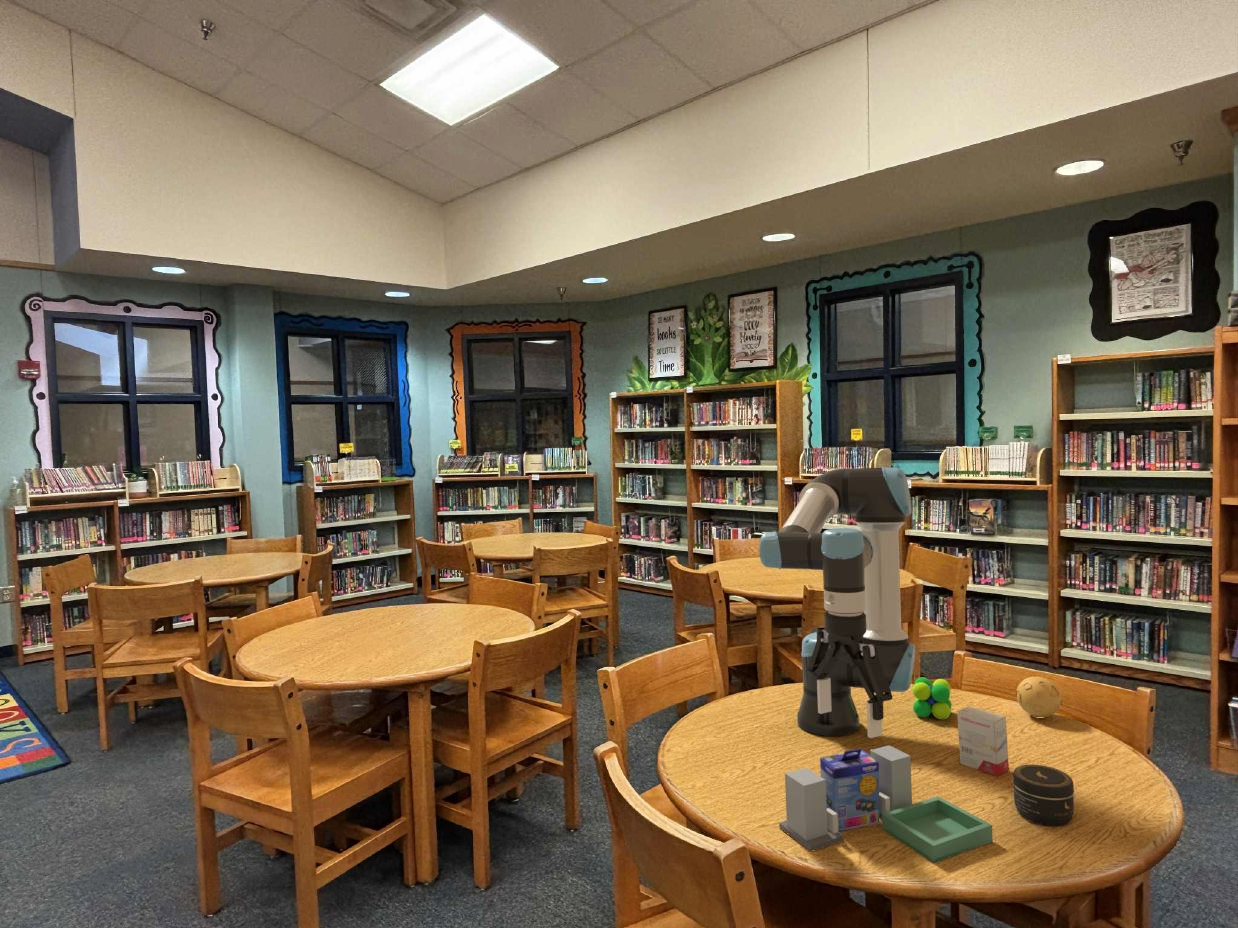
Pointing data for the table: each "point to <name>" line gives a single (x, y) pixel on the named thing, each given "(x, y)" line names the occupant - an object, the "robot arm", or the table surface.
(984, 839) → the tray
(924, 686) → the molecule model
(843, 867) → the table surface
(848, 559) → the robot arm
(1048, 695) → the stress ball
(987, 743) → the ink box
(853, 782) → the ink cartridge box
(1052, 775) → the jar
